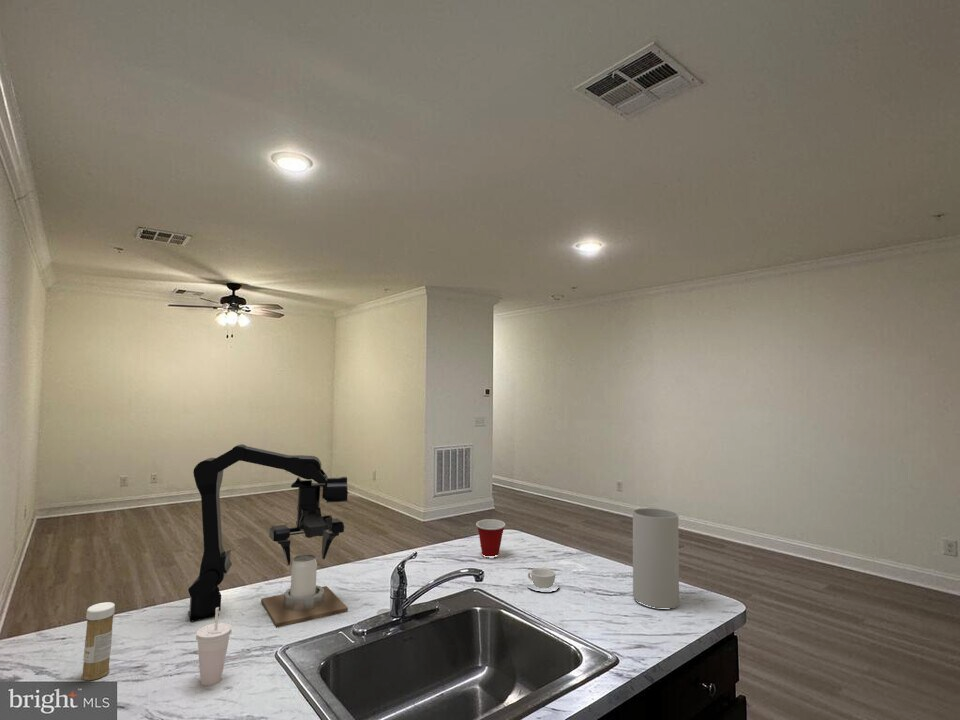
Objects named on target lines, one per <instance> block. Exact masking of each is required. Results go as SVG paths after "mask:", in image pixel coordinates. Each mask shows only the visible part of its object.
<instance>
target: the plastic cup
mask: <svg viewBox="0 0 960 720" xmlns="http://www.w3.org/2000/svg"><path fill="white" fill-rule="evenodd" d="M475 525H476V527H477V531H478V535H479V537H478V538H479V542H480V543H479V544H480V548H481V550H480V551H481V555H482V554H483V555H485V556H495V555H498V554H499V555H500V550H501V549H500V548H501V543H502V538H503V533H504V529H505V526H506V523H505V522H504V521H503V520H499V519H494V518H493V519H492V518H491V519H490V518H487V519H481V520H478V521H477V522H476V523H475ZM499 555H498V556H499Z"/></svg>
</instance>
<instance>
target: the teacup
mask: <svg viewBox="0 0 960 720" xmlns="http://www.w3.org/2000/svg"><path fill="white" fill-rule="evenodd" d="M527 578H528V579H529V580H530V582H532V581H533V583H534V585H535V586H536V587H539V588H549V587H551V586H552V585H553V583H555V580H556V571H554V570H553V569H549V568H544V567H542V568H540V567H539V568H533V569H532V570H531V571H529V572H528V573H527Z"/></svg>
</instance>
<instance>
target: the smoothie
mask: <svg viewBox="0 0 960 720" xmlns="http://www.w3.org/2000/svg"><path fill="white" fill-rule="evenodd" d="M219 612H220V611H219V608H218V607H217V608H216V611H215V617H214V623H211V624H207V625H204V626H202V627H200V628H199V629H198V630H197V631H196V635H195V640H196V641H197V648H198V665H199V666H198V667H199V676H200V677H199V679H200V684H201V685H203V686H212V685H215V684H217V683H219V682H220V681H222V677H223V672H224V666H225V662H226V657H227V651H228V645H229V640H230V635H231V634H232V632H233V631H232V630H233V629H232V627H233V626H232V625H231V624H229V623H226V622H219V616H218V613H219ZM219 614H220V613H219Z"/></svg>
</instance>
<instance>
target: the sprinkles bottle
mask: <svg viewBox="0 0 960 720" xmlns="http://www.w3.org/2000/svg"><path fill="white" fill-rule="evenodd" d="M115 605H116V604H115V603H114V602H111V601H107V602H106V601H105V602H100V603H96V604H92V605H90V606H89V607H88V608H87V610H86V614H85V615H86V631H85V639H84V651H83V664H82V674H81V679H82V680H84V681H94V680H98V679H100V678H103V677H105V676H107V675H108V674H109V673H110V660H111V658H110V657H111V651H112V641H113V640H112V639H113V624H114V623H113V622H114V616H115V611H116V606H115Z"/></svg>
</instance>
